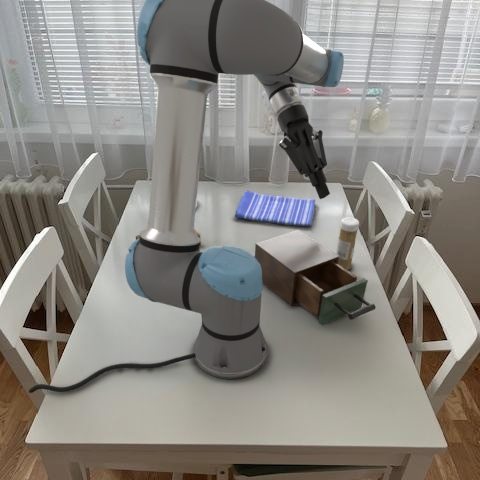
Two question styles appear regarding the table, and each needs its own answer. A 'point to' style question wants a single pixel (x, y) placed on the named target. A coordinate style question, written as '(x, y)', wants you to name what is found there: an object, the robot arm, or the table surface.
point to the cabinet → (290, 261)
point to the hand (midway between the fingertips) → (325, 196)
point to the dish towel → (276, 209)
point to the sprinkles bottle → (347, 241)
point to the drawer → (332, 293)
